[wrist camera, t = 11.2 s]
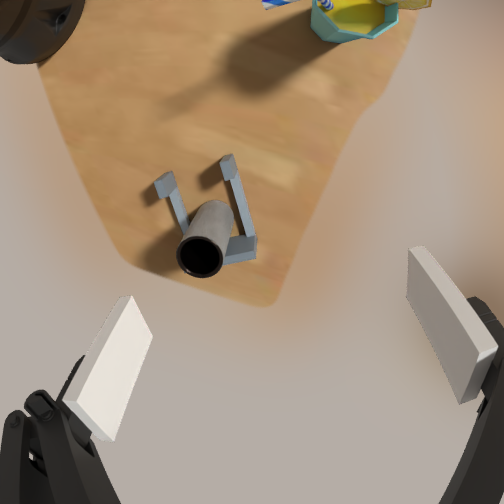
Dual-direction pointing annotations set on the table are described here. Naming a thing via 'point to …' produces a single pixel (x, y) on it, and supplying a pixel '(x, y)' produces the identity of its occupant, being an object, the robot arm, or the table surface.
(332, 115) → the table surface
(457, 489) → the robot arm
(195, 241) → the grey tube
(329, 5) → the cup
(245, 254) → the endcap rail
